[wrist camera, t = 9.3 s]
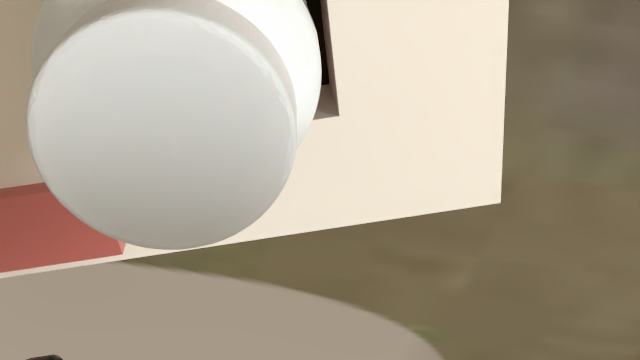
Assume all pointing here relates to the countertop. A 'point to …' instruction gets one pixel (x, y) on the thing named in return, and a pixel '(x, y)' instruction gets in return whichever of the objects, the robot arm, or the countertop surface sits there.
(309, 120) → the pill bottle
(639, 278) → the countertop surface
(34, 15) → the socket plate
